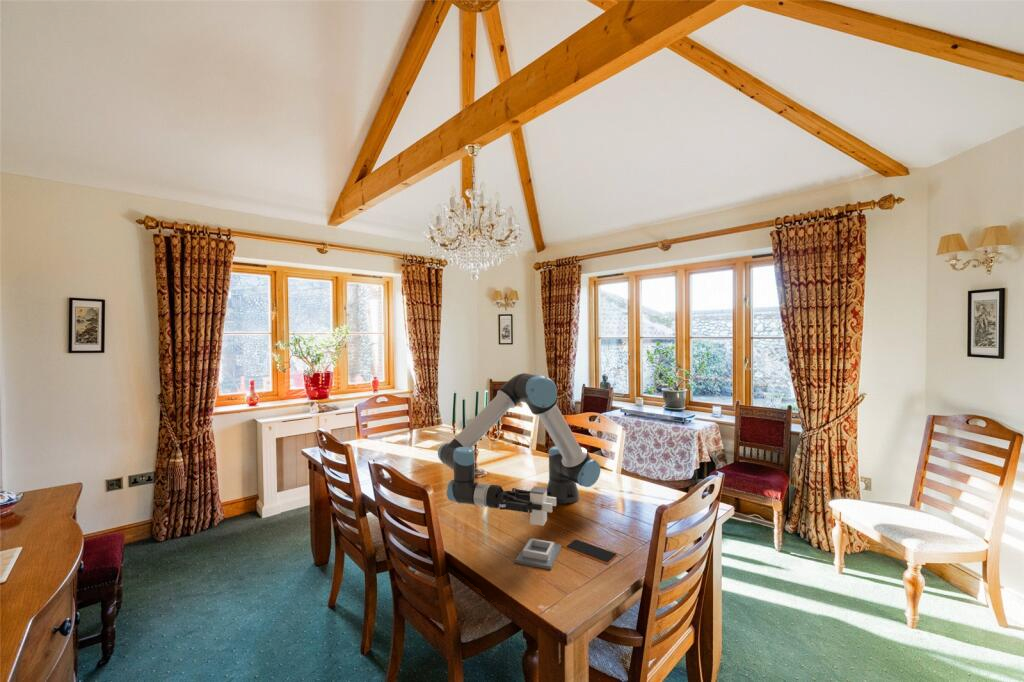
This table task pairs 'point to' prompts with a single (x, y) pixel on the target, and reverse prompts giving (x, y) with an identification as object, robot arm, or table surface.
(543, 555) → the dock
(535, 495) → the block
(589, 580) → the table surface
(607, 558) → the smartphone
